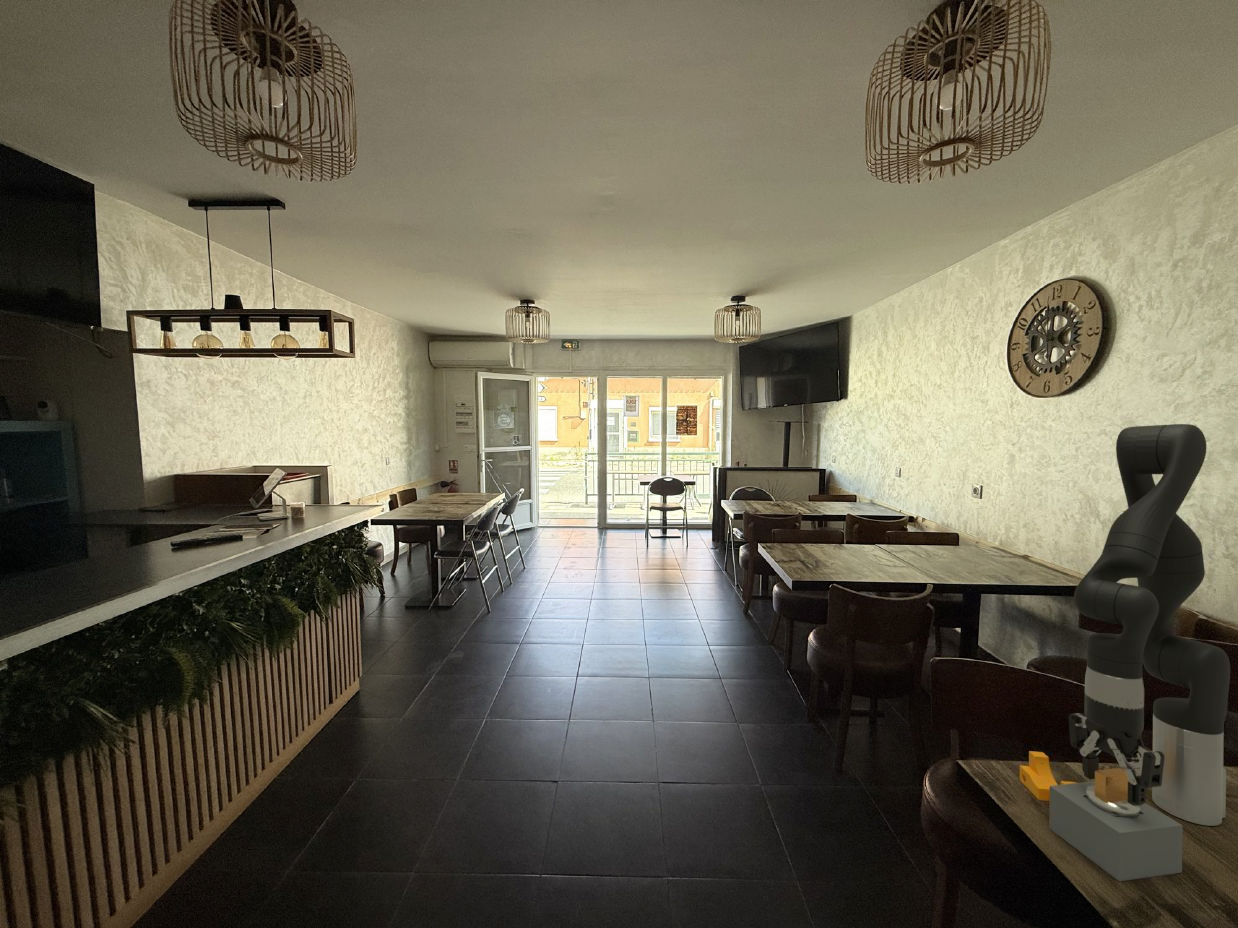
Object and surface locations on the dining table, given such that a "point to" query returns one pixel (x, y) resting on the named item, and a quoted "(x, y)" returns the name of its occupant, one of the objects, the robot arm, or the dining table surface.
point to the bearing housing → (1116, 835)
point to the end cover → (1112, 793)
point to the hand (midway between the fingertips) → (1112, 789)
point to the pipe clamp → (1038, 776)
